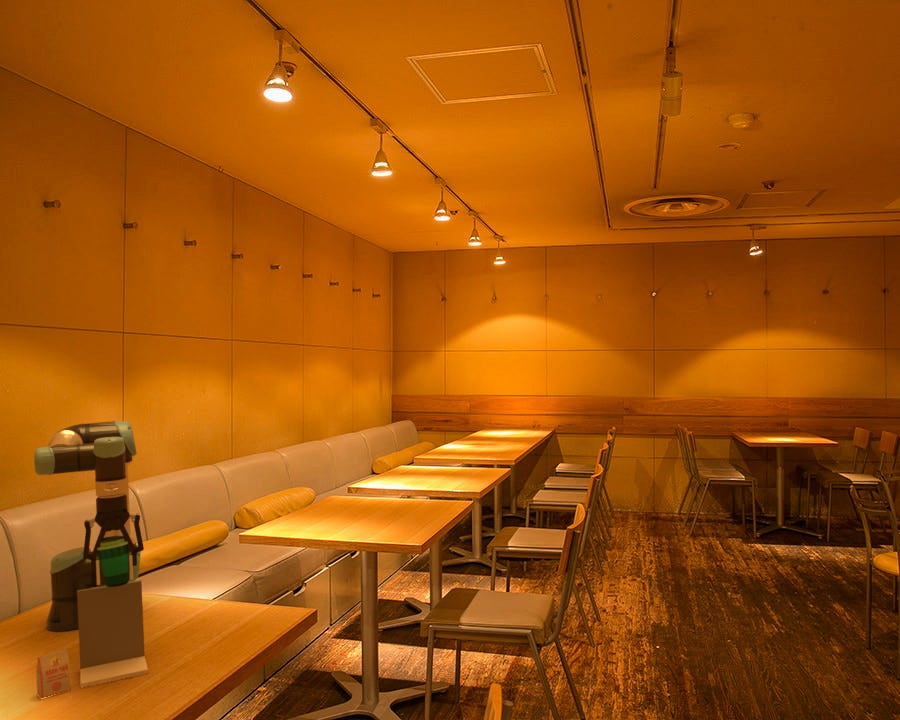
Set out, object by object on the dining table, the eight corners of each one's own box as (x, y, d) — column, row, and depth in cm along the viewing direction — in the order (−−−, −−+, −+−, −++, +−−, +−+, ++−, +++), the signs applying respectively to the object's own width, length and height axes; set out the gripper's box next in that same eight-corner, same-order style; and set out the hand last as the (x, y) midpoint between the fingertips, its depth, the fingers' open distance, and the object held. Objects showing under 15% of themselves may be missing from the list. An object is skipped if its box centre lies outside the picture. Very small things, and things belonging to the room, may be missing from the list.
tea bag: (37, 695, 184) (35, 655, 184) (66, 686, 189) (64, 647, 189) (41, 699, 181) (39, 659, 181) (70, 690, 186) (69, 651, 186)
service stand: (80, 670, 198) (77, 590, 198) (144, 657, 205) (140, 579, 205) (80, 688, 187) (77, 602, 187) (148, 673, 194) (144, 591, 194)
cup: (108, 589, 189) (106, 543, 189) (91, 585, 194) (89, 540, 194) (137, 581, 196) (135, 536, 196) (120, 577, 201) (118, 533, 201)
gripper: (68, 502, 187) (72, 591, 187) (153, 492, 196) (156, 577, 196) (69, 497, 194) (72, 584, 194) (151, 488, 203) (154, 571, 203)
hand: (115, 580), depth 195 cm, fingers closed on cup, 7 cm apart
